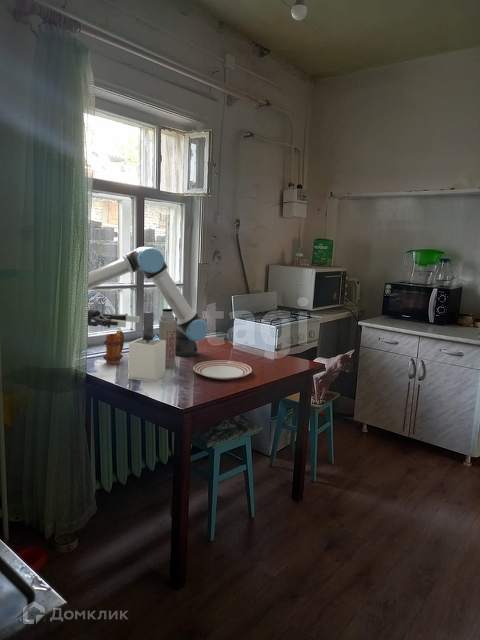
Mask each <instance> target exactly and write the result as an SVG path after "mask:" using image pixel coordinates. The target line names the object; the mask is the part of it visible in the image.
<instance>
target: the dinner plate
mask: <svg viewBox="0 0 480 640" xmlns="http://www.w3.org/2000/svg"><path fill="white" fill-rule="evenodd" d="M192 369H193V371H194V372H195V373H197V374H198V375H201V376H204V377H206V378H209V379H214V380H223V381H224V380H225V381H226V380H237V379H238V378H244V377H246V376H249V374H250V373H252V372H253V371H252V370H253V369H252V367H251V366H250V365H248V364H246V363H243V362H240V361H239V362H238V361H234V360H233V361H232V360H222V359H221V360H220V359H219V360H218V359H216V360H206V361H202V362H199V363H197V364H195V365H194V366H193V368H192Z"/></svg>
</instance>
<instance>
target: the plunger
mask: <svg viewBox="0 0 480 640" xmlns="http://www.w3.org/2000/svg"><path fill="white" fill-rule="evenodd" d="M154 313H155V312H154V311H144V312H143V316H142V319H143V320H142V322H143V323H142V325H143V327H142V338H143V340H146V344H149V345H150V340H153V339H154V317H155V315H154Z"/></svg>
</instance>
